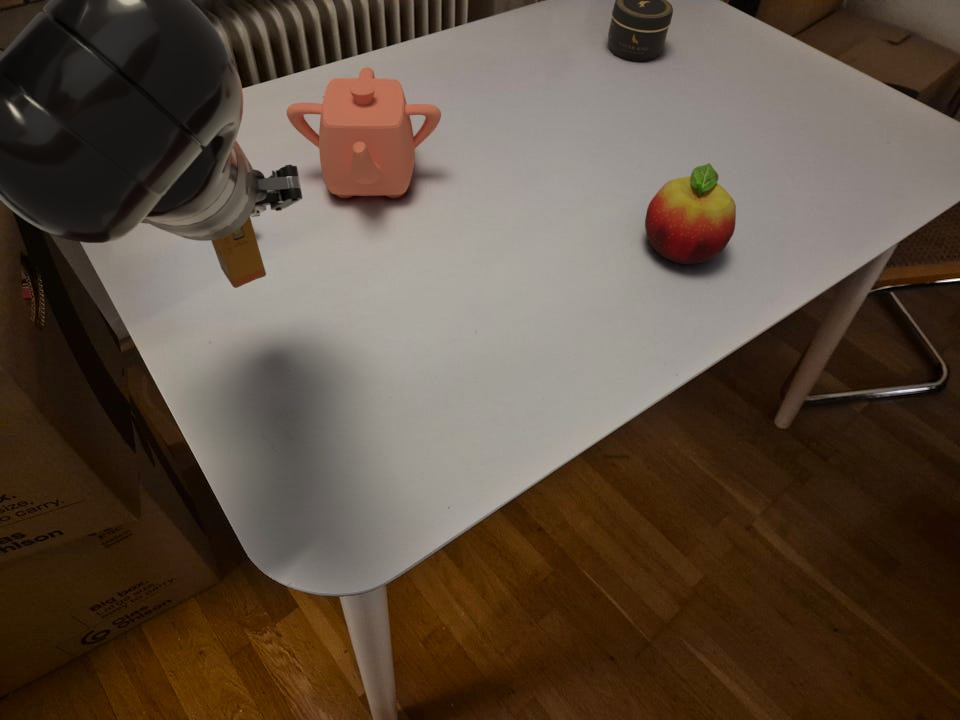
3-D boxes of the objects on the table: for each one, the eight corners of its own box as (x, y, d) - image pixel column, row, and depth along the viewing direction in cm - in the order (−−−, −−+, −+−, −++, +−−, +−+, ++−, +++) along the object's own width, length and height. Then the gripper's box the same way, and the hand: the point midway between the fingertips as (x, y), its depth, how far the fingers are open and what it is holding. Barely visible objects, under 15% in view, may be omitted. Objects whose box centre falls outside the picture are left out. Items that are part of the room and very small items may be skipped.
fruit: (627, 260, 84) (647, 195, 76) (649, 210, 90) (670, 146, 82) (711, 288, 81) (741, 225, 73) (728, 235, 88) (757, 172, 80)
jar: (602, 58, 115) (611, 12, 109) (608, 31, 121) (617, -14, 115) (660, 67, 114) (673, 22, 108) (663, 40, 120) (675, -4, 114)
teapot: (369, 130, 98) (361, 41, 87) (452, 175, 92) (454, 86, 82) (281, 183, 89) (261, 92, 79) (367, 236, 84) (357, 145, 73)
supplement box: (252, 255, 64) (228, 167, 56) (267, 277, 62) (245, 189, 54) (218, 268, 63) (189, 179, 55) (233, 290, 61) (205, 202, 53)
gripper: (292, 105, 43) (300, 155, 60) (51, 127, 40) (131, 174, 57) (313, 221, 44) (315, 239, 61) (80, 251, 41) (150, 261, 58)
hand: (226, 207), depth 59 cm, fingers closed on supplement box, 4 cm apart
